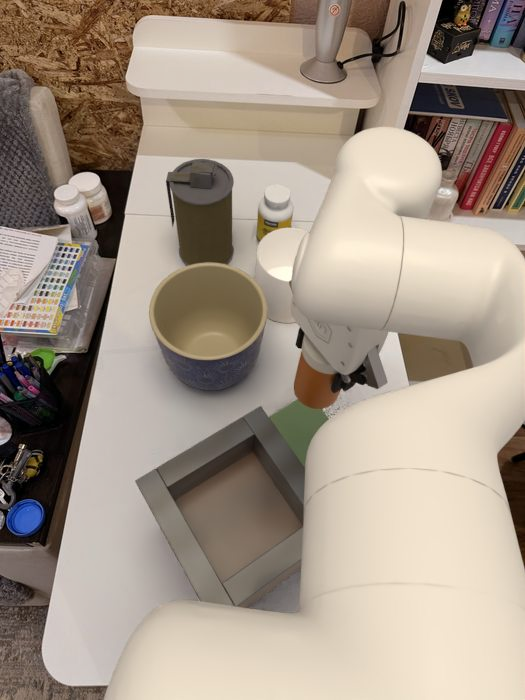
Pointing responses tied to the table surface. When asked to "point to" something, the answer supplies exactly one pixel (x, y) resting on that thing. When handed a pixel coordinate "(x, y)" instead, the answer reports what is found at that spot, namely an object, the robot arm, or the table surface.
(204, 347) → the planter
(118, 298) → the table surface
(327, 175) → the table surface
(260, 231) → the pill bottle
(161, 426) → the table surface
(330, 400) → the medicine bottle
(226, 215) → the canister
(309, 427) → the mat
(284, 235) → the cup
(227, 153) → the table surface
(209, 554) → the metal storage bin
